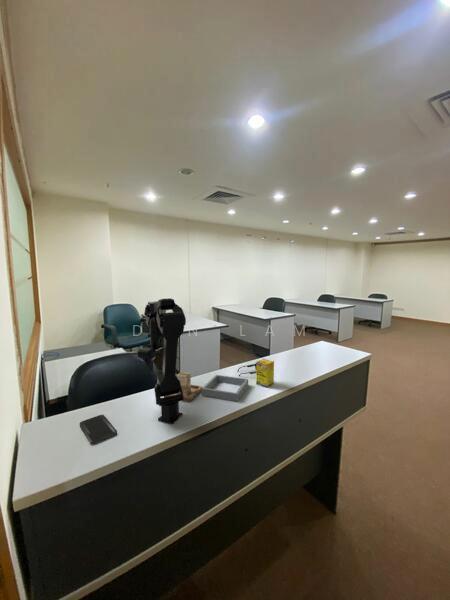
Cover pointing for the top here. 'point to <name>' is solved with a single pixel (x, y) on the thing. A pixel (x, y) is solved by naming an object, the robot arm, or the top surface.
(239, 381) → the slate bin
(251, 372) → the sunglasses
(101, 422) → the phone
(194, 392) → the walnut tray
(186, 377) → the maple block
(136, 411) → the top surface
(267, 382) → the supplement box
